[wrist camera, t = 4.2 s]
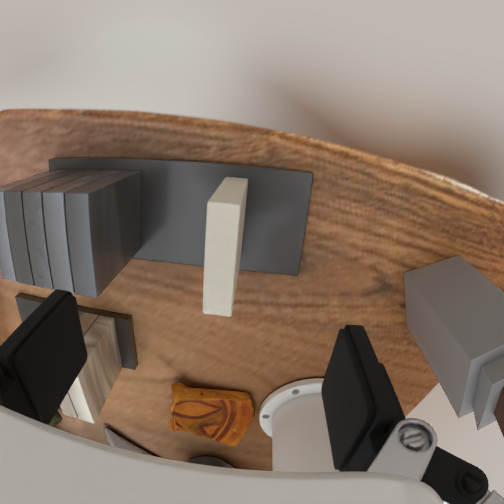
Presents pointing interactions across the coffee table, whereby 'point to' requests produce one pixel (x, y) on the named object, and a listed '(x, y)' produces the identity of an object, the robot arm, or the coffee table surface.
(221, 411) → the pottery fragment
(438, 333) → the perfume bottle
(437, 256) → the coffee table surface
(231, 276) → the white book
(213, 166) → the grey shelf
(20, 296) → the two-tone upright fixture
